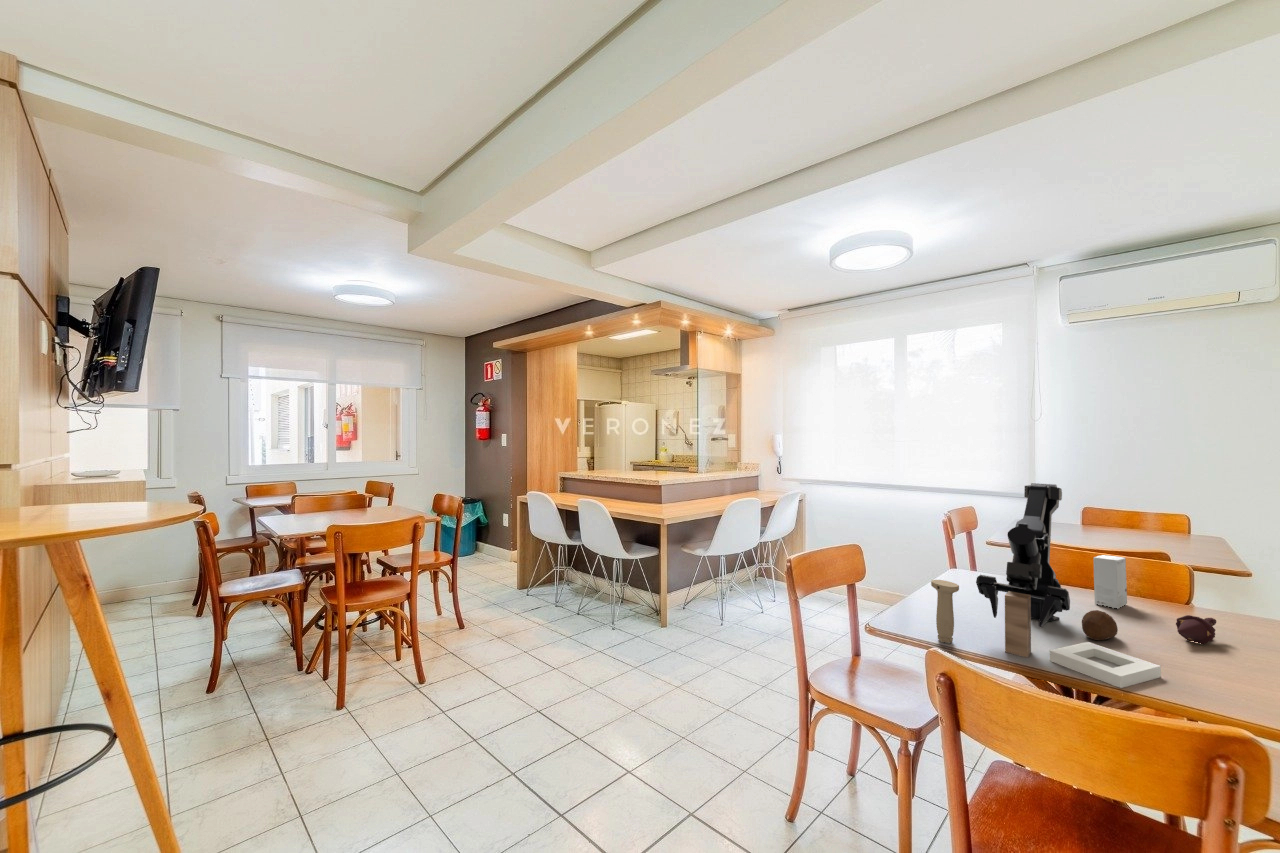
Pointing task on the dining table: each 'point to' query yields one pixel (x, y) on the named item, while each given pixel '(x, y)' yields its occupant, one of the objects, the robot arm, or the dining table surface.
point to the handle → (945, 609)
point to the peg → (1018, 623)
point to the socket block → (1105, 664)
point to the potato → (1099, 625)
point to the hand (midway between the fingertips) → (1016, 621)
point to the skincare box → (1110, 581)
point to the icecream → (1196, 628)
